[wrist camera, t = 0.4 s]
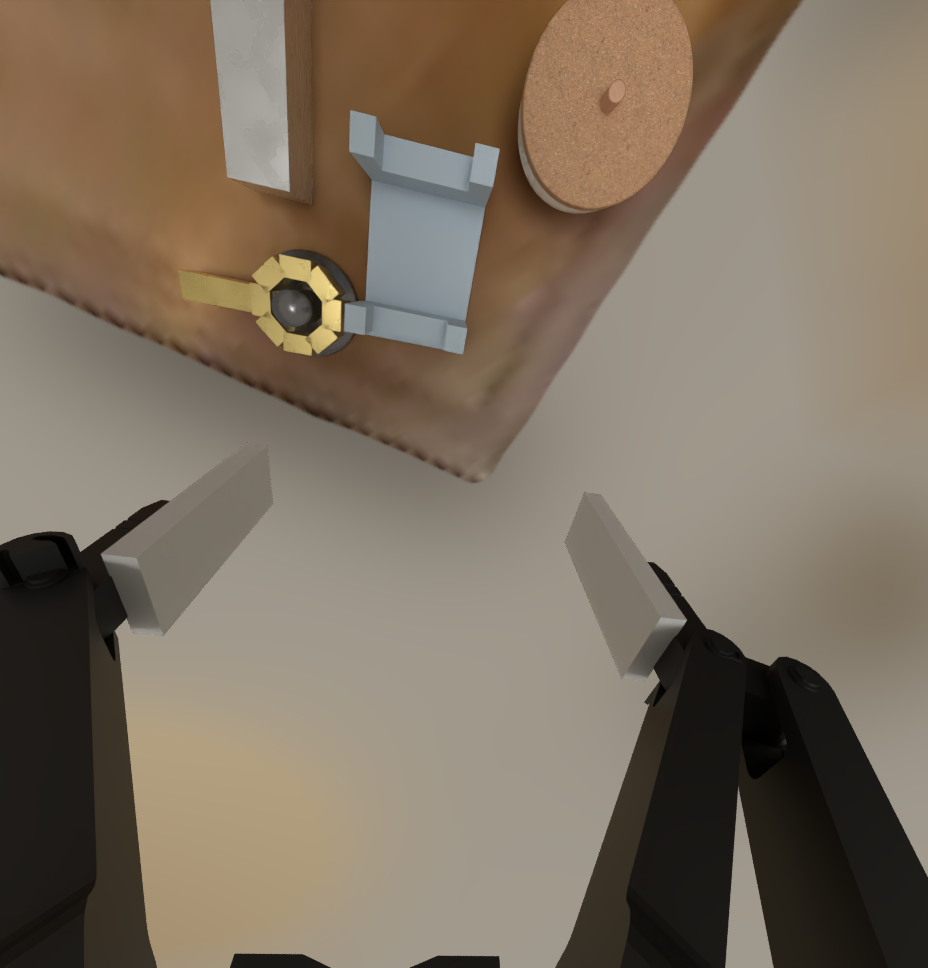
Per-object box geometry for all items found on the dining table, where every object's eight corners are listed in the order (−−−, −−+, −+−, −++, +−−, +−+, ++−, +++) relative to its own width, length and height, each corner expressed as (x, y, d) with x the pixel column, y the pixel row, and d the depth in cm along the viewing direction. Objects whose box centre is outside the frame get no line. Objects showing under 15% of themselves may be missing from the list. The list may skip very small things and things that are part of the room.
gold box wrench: (349, 268, 32) (341, 267, 30) (347, 356, 36) (339, 360, 34) (191, 234, 31) (169, 230, 28) (204, 329, 34) (186, 332, 32)
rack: (376, 135, 29) (350, 87, 22) (492, 165, 30) (503, 128, 23) (365, 333, 36) (343, 344, 29) (459, 351, 37) (460, 366, 30)
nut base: (259, 240, 32) (225, 232, 27) (361, 262, 33) (345, 258, 28) (266, 345, 36) (238, 354, 32) (357, 362, 37) (342, 373, 33)
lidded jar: (539, 251, 33) (566, 239, 25) (484, 111, 28) (495, 40, 20) (654, 177, 31) (727, 137, 22) (614, 11, 26) (687, -116, 18)
